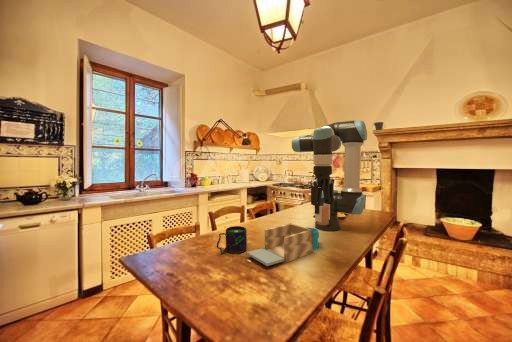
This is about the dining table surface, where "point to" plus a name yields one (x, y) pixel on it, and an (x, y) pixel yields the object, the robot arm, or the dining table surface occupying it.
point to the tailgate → (265, 256)
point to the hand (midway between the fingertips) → (322, 219)
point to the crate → (289, 241)
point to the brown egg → (324, 216)
